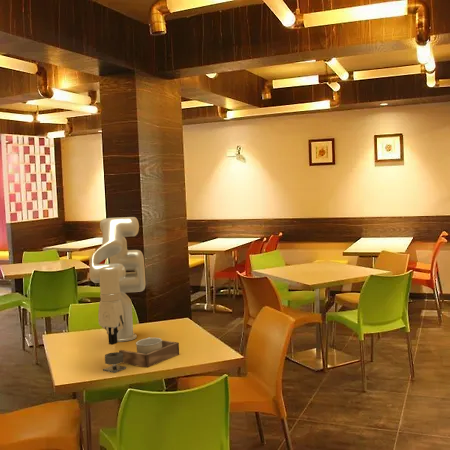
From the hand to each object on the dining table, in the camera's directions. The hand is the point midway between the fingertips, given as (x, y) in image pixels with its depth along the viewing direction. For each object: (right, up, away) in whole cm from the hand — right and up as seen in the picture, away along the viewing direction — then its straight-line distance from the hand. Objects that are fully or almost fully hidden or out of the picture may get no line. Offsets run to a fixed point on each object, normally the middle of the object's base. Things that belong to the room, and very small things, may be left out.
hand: (113, 343), depth 233 cm
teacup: (+13, -9, +14) cm, 21 cm away
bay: (+12, -9, +15) cm, 21 cm away
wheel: (0, -7, +1) cm, 7 cm away
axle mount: (0, -11, +1) cm, 11 cm away
